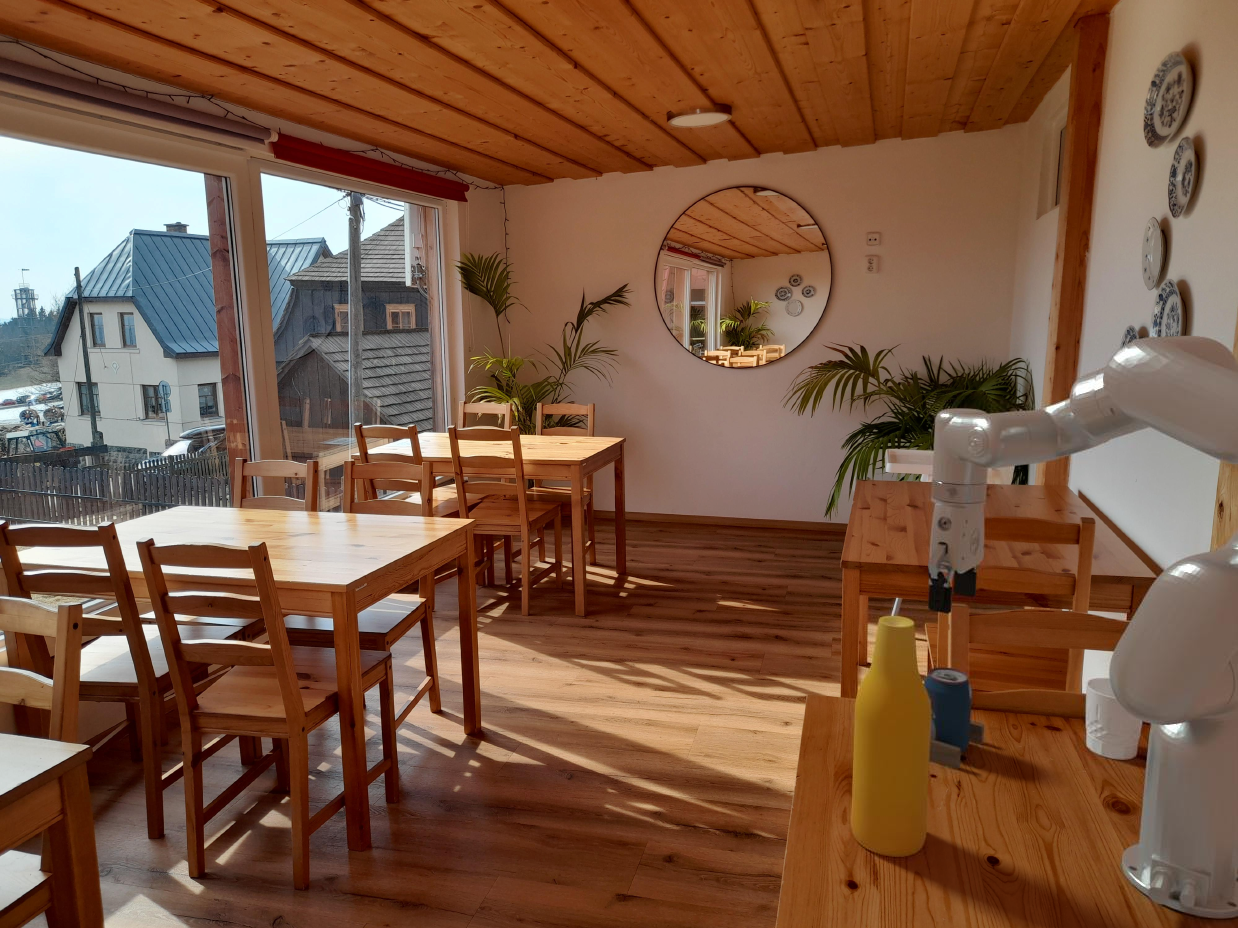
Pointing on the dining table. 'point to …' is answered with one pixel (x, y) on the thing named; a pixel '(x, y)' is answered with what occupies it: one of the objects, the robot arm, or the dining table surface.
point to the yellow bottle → (891, 746)
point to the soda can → (949, 706)
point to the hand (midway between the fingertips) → (952, 603)
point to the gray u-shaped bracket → (950, 753)
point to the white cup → (1109, 723)
